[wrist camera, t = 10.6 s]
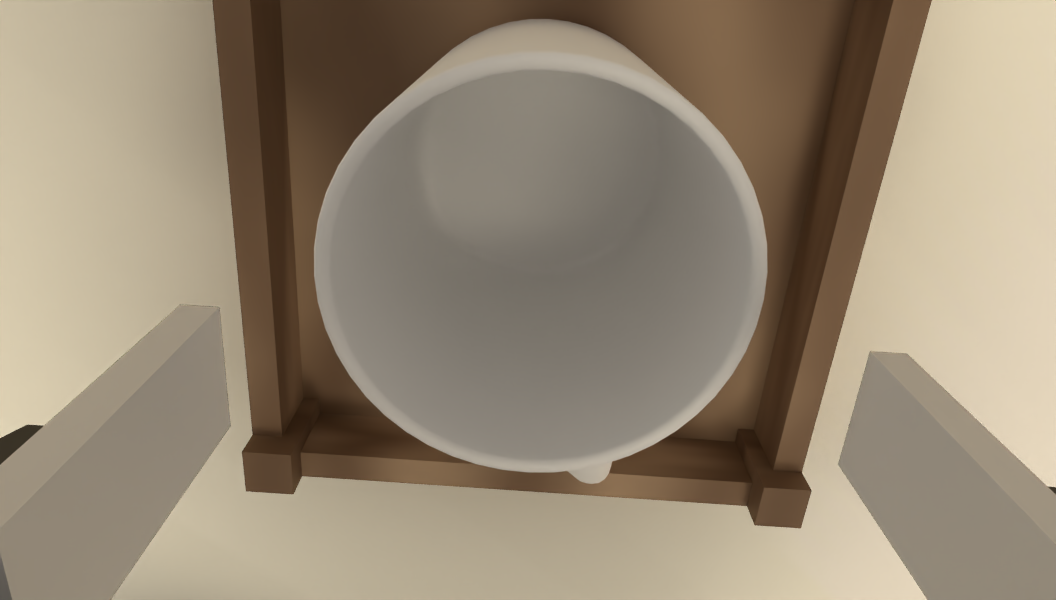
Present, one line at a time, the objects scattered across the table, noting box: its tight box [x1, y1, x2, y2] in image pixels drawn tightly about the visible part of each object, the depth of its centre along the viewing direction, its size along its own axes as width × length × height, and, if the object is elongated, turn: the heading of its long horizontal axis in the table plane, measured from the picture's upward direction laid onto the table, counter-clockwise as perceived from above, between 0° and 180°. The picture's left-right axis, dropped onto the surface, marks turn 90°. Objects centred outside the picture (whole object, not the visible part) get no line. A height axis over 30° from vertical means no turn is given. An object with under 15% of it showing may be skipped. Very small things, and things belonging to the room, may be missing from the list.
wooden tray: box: [213, 0, 932, 528], centre depth 23 cm, size 19×19×4 cm
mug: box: [314, 19, 767, 484], centre depth 19 cm, size 9×12×11 cm
